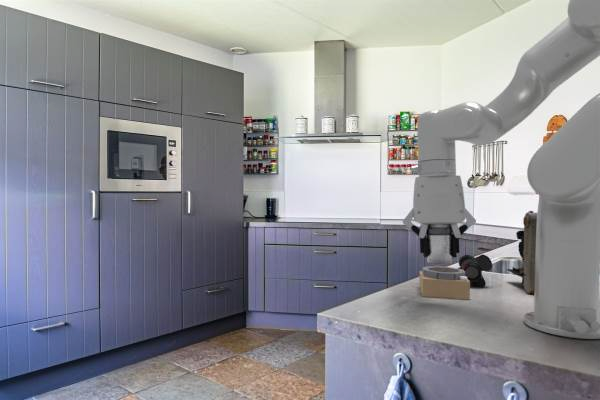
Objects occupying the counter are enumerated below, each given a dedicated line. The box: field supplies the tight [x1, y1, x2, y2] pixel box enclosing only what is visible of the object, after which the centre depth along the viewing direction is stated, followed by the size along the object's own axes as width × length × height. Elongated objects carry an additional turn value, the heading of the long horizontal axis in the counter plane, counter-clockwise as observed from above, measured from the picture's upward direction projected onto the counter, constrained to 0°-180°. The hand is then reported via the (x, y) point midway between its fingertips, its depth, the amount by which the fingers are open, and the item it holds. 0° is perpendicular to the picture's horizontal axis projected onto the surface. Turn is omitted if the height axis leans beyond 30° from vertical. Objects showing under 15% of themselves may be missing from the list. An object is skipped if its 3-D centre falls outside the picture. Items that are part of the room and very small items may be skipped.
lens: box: [425, 224, 453, 265], centre depth 88 cm, size 5×5×8 cm
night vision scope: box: [457, 254, 493, 288], centre depth 112 cm, size 8×18×10 cm
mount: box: [418, 265, 471, 300], centre depth 98 cm, size 10×10×6 cm
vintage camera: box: [506, 210, 537, 295], centre depth 105 cm, size 10×16×20 cm, turn 174°
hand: (439, 255), depth 88 cm, fingers closed on lens, 5 cm apart
